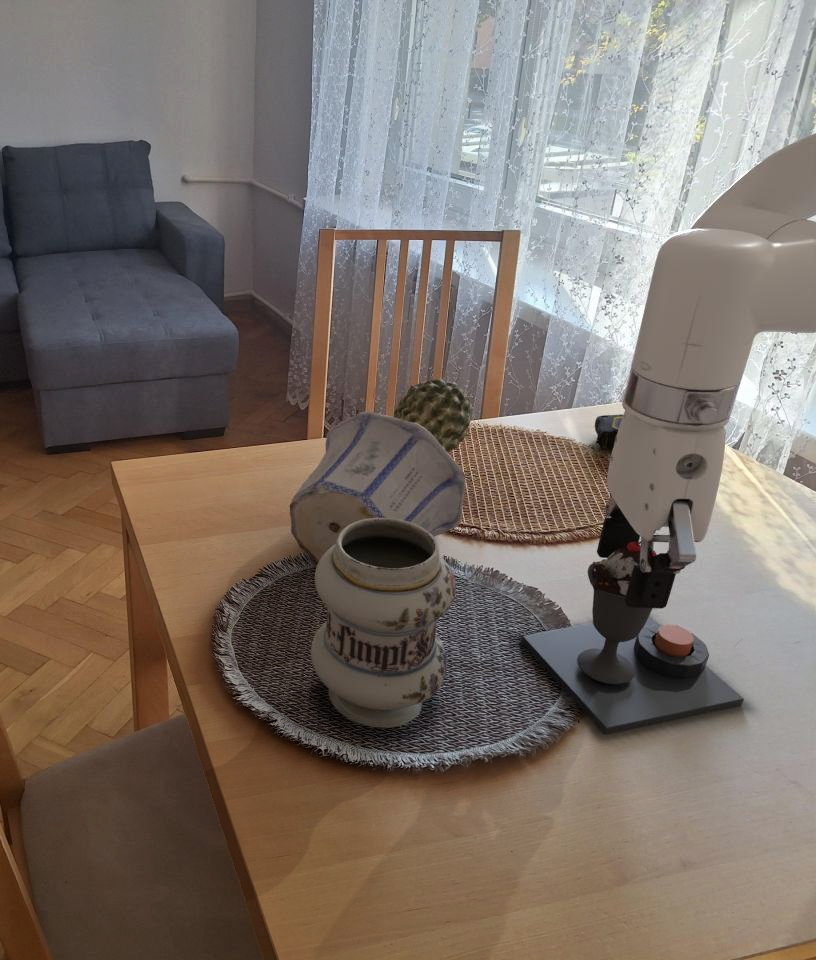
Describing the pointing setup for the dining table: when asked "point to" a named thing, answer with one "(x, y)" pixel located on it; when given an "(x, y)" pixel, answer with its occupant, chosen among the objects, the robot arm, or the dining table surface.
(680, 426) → the robot arm
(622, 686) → the scale
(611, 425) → the tape measure
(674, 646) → the button
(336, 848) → the dining table surface
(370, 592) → the apothecary jar
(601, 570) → the sundae
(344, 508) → the potted plant
